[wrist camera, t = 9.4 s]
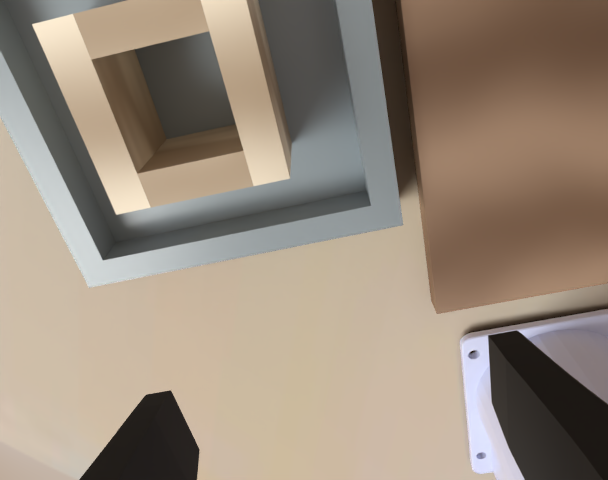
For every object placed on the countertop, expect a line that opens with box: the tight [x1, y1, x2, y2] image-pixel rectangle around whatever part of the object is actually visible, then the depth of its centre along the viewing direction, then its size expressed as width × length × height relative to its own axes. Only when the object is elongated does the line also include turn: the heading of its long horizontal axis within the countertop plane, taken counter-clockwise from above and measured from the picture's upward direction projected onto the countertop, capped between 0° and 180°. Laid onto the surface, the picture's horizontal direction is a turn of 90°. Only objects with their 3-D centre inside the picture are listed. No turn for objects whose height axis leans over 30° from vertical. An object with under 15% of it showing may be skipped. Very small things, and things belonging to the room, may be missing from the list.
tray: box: [0, 0, 403, 288], centre depth 16 cm, size 12×12×2 cm
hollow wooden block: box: [32, 0, 292, 215], centre depth 15 cm, size 5×5×4 cm
